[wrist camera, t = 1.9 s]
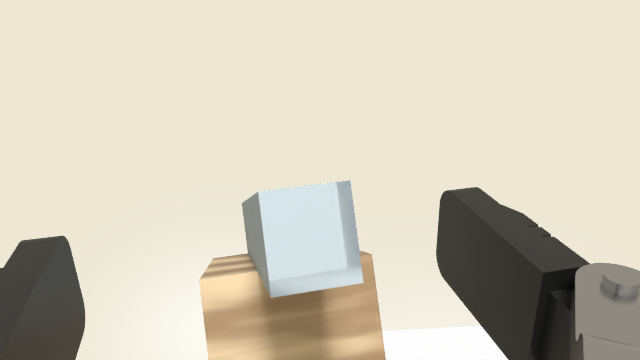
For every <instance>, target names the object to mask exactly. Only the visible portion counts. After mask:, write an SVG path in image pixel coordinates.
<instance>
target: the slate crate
mask: <svg viewBox="0 0 640 360" xmlns="http://www.w3.org/2000/svg"><path fill="white" fill-rule="evenodd" d="M352 199H353V198H352V192H351V184H350V181H342V182H334V183H326V184H317V185H309V186H301V187H293V188H285V189H277V190H268V191H261V192H257V193H256V194H254V195H253V196H252V197H250V198H249V199H247V200H246V201H244V202H243V203H242V207H243V215H244V222H245V223H244V224H245V232H246V240H247V248H248V255H249V257H250V259H251V261H252V263H253V264H254V266H255V268H256V270H257V272H258V274H259V276H260V278H261V280H262V281H263V283H264V285H265V287H266V289H267V291H268V293H269V295H270V297H271V298H273V297H279V296H286V295H292V294H298V293H304V292H310V291H317V290H323V289H329V288H335V287H341V286H348V285H354V284H360V283H364V282H363V275H362V267H361V260H360V252H359V244H358V237H357V229H356V222H355V214H354V206H353V200H352Z"/></svg>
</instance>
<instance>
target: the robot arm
mask: <svg viewBox="0 0 640 360" xmlns="http://www.w3.org/2000/svg"><path fill="white" fill-rule="evenodd" d="M436 256H437V262H438V267H439V270H440V273H441V275H442V277H443V278H444V280H445V281H446V282H447V283H448V285H449V286H450V287H451V288H452V290H453V291H454V292H455V293H456V295H457V296H458V297H459V298H460V300H461V301H462V302H463V303H464V305H465V306H466V307H467V308H468V310H469V311H470V312H471V313H472V315H473V316H474V317H475V318H476V320H477V321H478V322H479V323H480V325H481V326H482V327H483V328H484V330H485V331H486V332H487V333H488V335H489V336H490V337H491V338H492V340H493V341H494V342H495V343H496V345H497V346H498V347H499V348H500V350H501V351H502V352H503V353H504V355H505V356H506V357H507V358H508V360H640V271H638V270H635V269H633V268H629V267H626V266H621V265H617V264H609V263H594V264H590V263H588V262H587V261H586V260H584V259H583V258H582V257H580V256H579V255H578V254H576V253H575V252H574V251H572V250H571V249H569V248H568V247H567V246H565V245H564V244H563V243H562V242H560V241H559V240H558V239H556V238H555V237H551V234H550V233H548V232H547V231H546V230H544V229H543V228H541V227H538V224H536V223H535V222H533V221H532V220H531V219H529V218H528V217H527V216H525V215H524V214H523V213H520V212H518V211H515V210H513V209H510V208H508V207H506V206H503V205H500V204H499V203H498V202H497V201H495V200H494V199H493V198H491V197H490V196H489V195H487V194H486V193H485V192H484V191H482V190H481V189H479V188H477V187H474V188H465V189H457V190H448V191H445V192H444V193H443V194H442V196H441V199H440V209H439V223H438V236H437V250H436ZM84 328H85V308H84V302H83V298H82V294H81V289H80V285H79V281H78V277H77V273H76V269H75V265H74V261H73V257H72V253H71V249H70V245H69V242H68V240H67V239H66V237H64V236H57V237H48V238H40V239H31V240H23V241H21V242H20V243H19V244H18V246H17V247H16V249H15V251H14V252H13V254H12V255H11V257H10V258H9V260H8V261H7V263H6V265H5V266H4V268H0V360H75V359H76V356H77V352H78V349H79V346H80V343H81V339H82V336H83V332H84Z"/></svg>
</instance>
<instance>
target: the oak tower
mask: <svg viewBox="0 0 640 360" xmlns="http://www.w3.org/2000/svg"><path fill="white" fill-rule="evenodd" d="M359 252H360V260H361V267H362V275H363V282H364V283H360V284H354V285H348V286H341V287H335V288H329V289H323V290H317V291H310V292H304V293H298V294H292V295H286V296H279V297H273V298H271V297H270V295H269V293H268V291H267V289H266V287H265V285H264V283H263V281H262V280H261V278H260V276H259V274H258V272H257V270H256V268H255V266H254V264H253V263H252V261H251V259H250V257H249V255H248V254H241V255H235V256H227V257H220V258H214V259H213V260H212V262H211V263H210V265H209V266H208V268H207V269H206V271H205V272H204V274H203V275H202V277H201V278H200V280H199V281H200V290H201V298H202V307H203V315H204V324H205V332H206V341H207V349H208V357H209V360H386V359H385V351H384V343H383V336H382V328H381V321H380V313H379V306H378V299H377V290H376V283H375V275H374V268H373V260H372V255H371V254H369V253H366V252H363V251H360V250H359Z"/></svg>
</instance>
